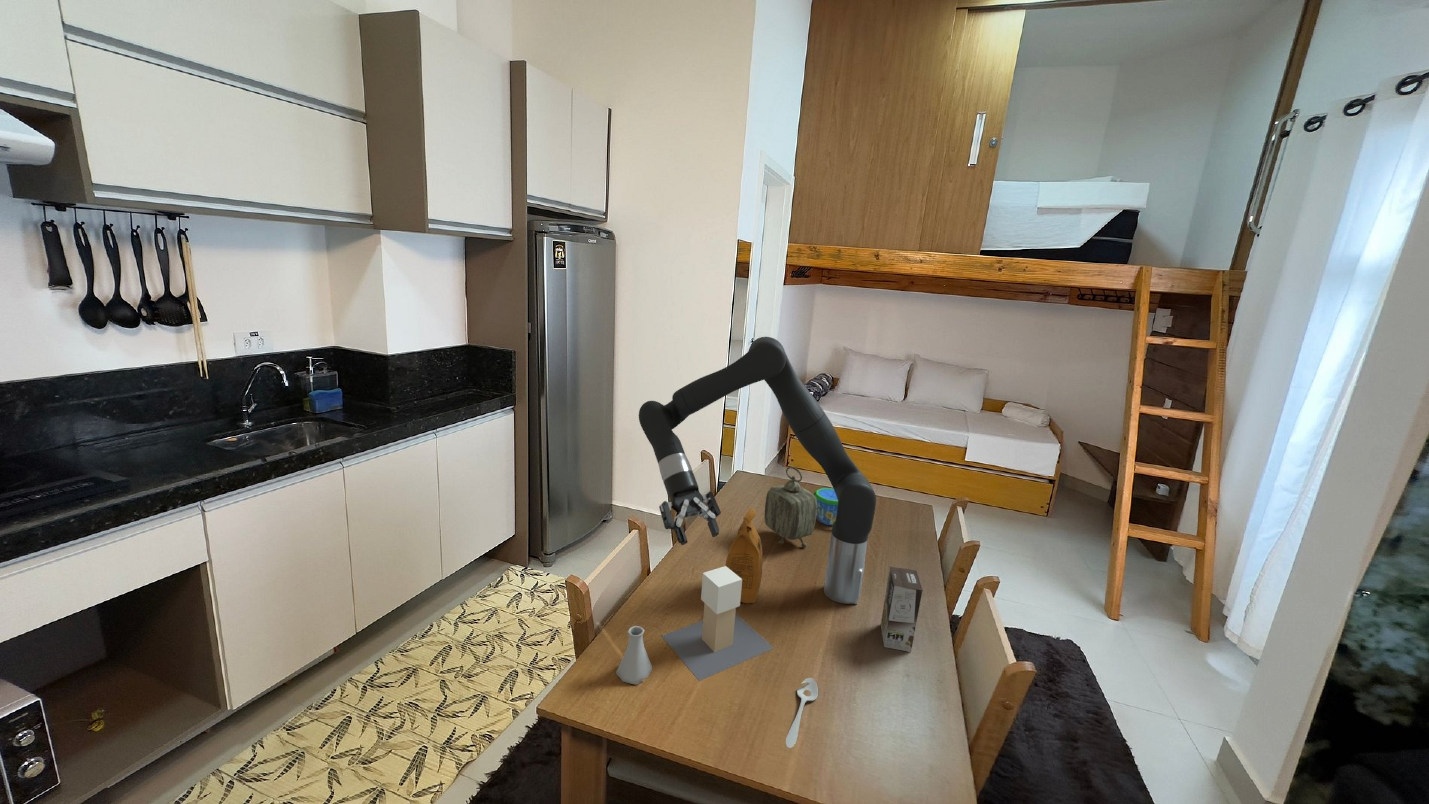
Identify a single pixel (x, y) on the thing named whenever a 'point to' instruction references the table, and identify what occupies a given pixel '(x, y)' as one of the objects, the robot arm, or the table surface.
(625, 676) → the flask
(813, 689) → the spoon
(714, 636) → the beige tall block
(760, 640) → the mat
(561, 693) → the table surface
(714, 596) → the white cube block
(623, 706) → the table surface
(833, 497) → the snack cup
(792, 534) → the tabletop clock
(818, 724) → the table surface
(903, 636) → the coffee box
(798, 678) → the table surface
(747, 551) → the coffee package
